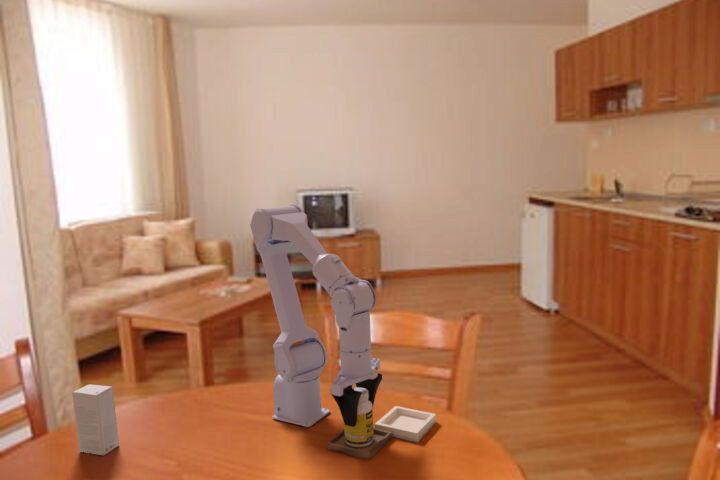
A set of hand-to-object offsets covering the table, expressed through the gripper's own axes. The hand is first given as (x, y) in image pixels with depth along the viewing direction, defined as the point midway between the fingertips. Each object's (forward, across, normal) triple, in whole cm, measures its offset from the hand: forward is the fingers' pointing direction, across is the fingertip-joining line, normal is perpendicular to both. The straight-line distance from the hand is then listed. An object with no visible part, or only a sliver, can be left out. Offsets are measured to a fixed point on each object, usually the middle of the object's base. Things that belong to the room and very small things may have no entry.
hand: (358, 418), depth 105 cm
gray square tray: (+5, 0, 0) cm, 5 cm away
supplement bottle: (+5, 0, 0) cm, 5 cm away
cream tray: (+5, +10, -5) cm, 12 cm away
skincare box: (+5, -24, +44) cm, 50 cm away
